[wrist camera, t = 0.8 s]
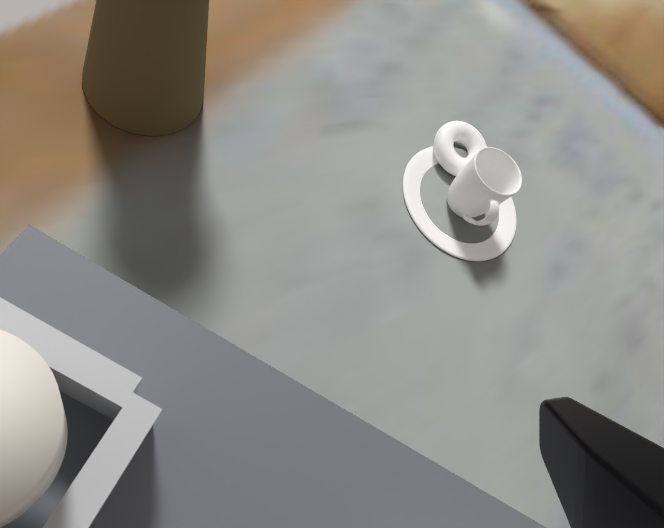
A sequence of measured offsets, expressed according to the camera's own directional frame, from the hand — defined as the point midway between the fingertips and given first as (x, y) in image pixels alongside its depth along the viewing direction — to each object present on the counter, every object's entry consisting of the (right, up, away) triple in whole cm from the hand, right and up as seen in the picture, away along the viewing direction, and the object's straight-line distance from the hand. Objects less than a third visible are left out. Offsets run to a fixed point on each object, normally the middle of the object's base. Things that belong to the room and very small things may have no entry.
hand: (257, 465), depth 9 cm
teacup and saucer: (+11, +8, +28) cm, 31 cm away
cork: (-9, +12, +21) cm, 26 cm away
